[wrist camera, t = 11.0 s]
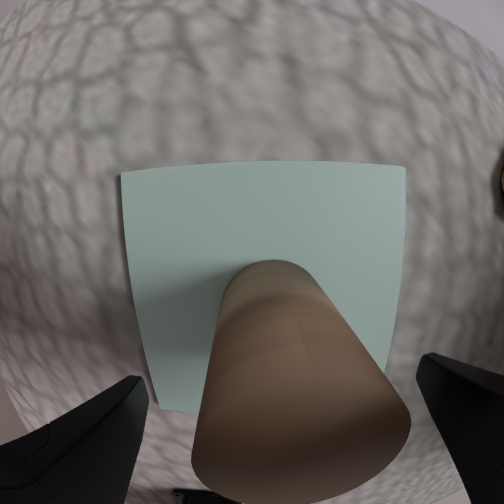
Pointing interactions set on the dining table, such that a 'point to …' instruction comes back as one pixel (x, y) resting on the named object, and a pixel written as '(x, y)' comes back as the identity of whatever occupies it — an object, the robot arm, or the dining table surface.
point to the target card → (257, 251)
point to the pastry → (502, 180)
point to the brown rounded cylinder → (291, 395)
